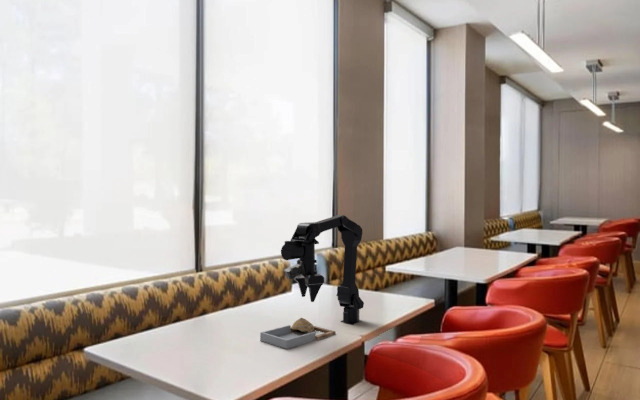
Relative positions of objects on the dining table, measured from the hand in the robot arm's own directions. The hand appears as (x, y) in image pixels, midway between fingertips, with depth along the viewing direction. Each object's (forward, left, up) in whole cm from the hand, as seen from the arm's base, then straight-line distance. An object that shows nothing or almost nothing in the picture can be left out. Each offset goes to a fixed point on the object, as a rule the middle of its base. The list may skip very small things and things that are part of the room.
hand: (307, 299), depth 181 cm
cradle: (-2, -2, -14) cm, 14 cm away
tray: (+9, -2, -14) cm, 16 cm away
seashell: (-2, -1, -14) cm, 14 cm away
